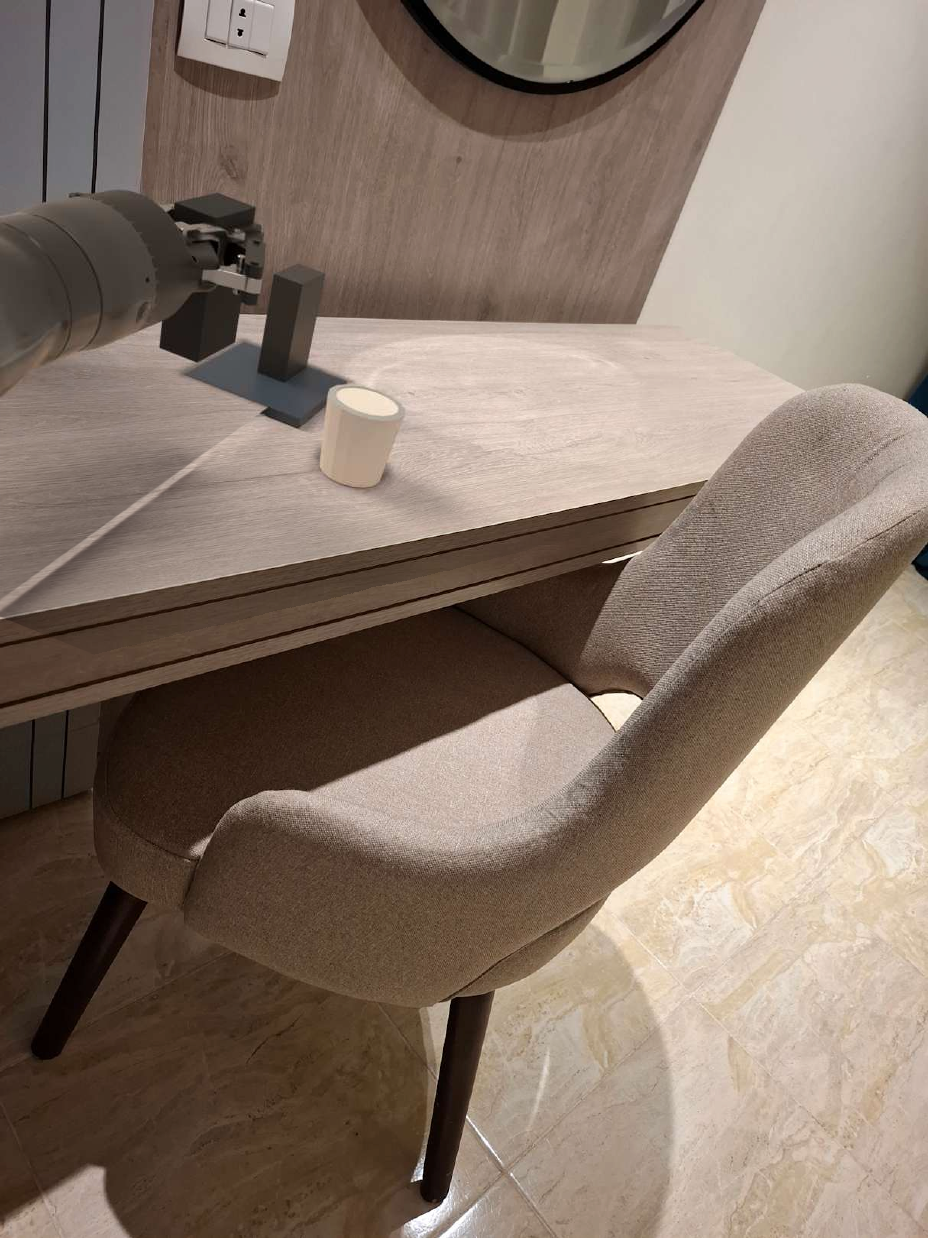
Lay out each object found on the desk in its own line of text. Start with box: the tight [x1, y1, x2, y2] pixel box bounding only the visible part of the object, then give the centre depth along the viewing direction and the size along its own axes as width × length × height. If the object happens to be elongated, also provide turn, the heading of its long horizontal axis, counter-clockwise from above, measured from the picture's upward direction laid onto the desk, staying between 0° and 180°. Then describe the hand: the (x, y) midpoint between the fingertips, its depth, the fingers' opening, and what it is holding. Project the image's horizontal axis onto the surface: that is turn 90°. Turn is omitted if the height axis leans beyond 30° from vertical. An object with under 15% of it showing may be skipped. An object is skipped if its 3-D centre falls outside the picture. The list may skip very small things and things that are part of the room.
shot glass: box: [319, 383, 406, 489], centre depth 80 cm, size 7×7×7 cm
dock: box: [184, 262, 348, 428], centre depth 89 cm, size 12×13×11 cm
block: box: [159, 192, 257, 363], centre depth 64 cm, size 3×6×10 cm, turn 165°
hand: (231, 228), depth 65 cm, fingers closed on block, 3 cm apart
